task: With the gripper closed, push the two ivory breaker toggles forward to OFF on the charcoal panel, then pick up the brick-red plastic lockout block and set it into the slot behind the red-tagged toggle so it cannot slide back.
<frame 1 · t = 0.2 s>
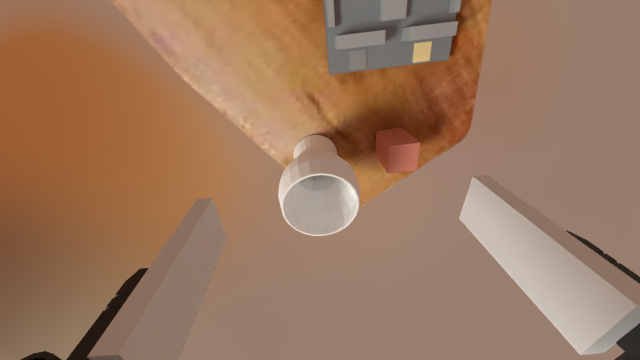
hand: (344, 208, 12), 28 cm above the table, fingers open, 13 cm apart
cup: (315, 155, 41), on the table
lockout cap: (388, 141, 40), on the table
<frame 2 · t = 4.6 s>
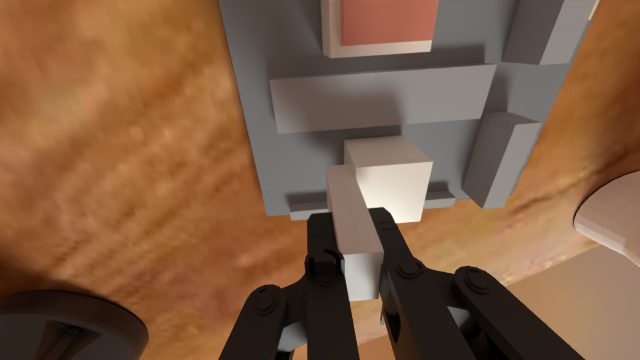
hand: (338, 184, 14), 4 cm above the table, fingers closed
cup: (613, 203, 22), on the table
breaker a: (380, 178, 14), point 4 cm above the table, slide at 1.1 cm, touching gripper
panel: (411, 89, 15), on the table
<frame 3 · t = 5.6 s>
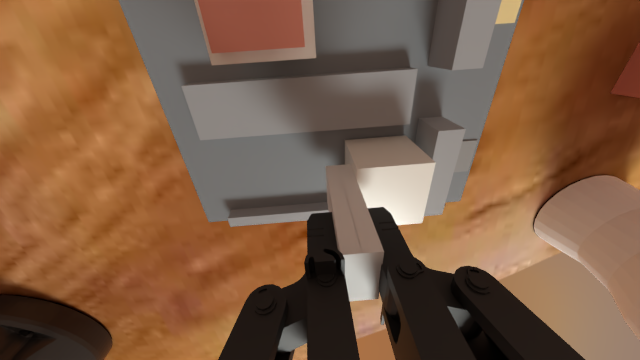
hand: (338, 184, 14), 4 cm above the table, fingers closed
cup: (574, 208, 22), on the table
breaker a: (381, 179, 14), point 4 cm above the table, slide at 5.7 cm, touching gripper
panel: (345, 94, 15), on the table
breaker b: (261, 2, 9), point 4 cm above the table, slide at 0.0 cm
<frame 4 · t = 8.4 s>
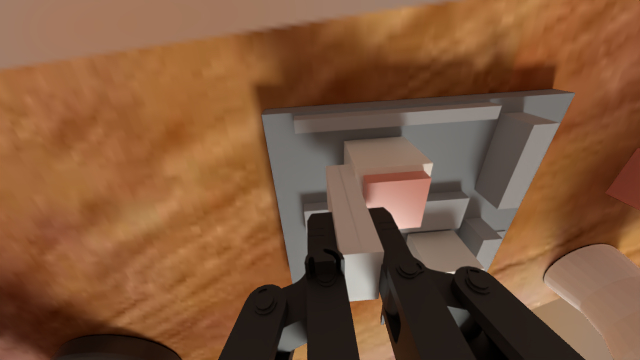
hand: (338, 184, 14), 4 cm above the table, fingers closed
cup: (576, 265, 27), on the table
breaker a: (437, 266, 19), point 4 cm above the table, slide at 5.7 cm
panel: (408, 198, 20), on the table
breaker b: (382, 183, 14), point 4 cm above the table, slide at 0.1 cm, touching gripper
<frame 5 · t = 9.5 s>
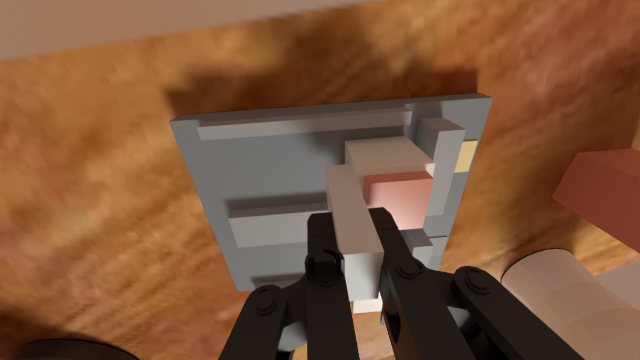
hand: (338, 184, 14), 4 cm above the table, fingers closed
cup: (534, 270, 26), on the table
breaker a: (373, 273, 19), point 4 cm above the table, slide at 5.7 cm
panel: (345, 204, 20), on the table
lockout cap: (588, 174, 20), on the table
breaker b: (383, 183, 14), point 4 cm above the table, slide at 5.7 cm, touching gripper
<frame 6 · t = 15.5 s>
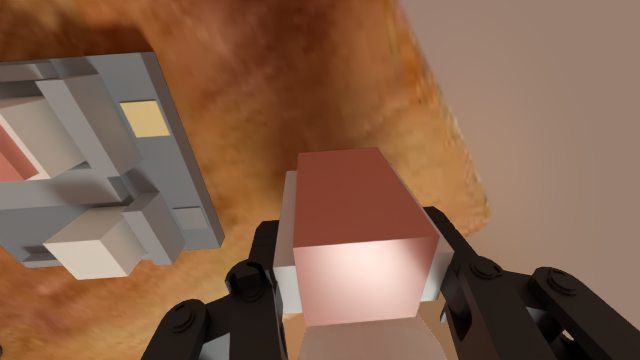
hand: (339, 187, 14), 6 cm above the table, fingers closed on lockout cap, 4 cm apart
cup: (348, 250, 26), on the table
breaker a: (108, 240, 19), point 4 cm above the table, slide at 5.7 cm
panel: (92, 172, 19), on the table
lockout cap: (338, 183, 14), point 6 cm above the table, touching gripper
breaker b: (21, 138, 14), point 4 cm above the table, slide at 5.7 cm
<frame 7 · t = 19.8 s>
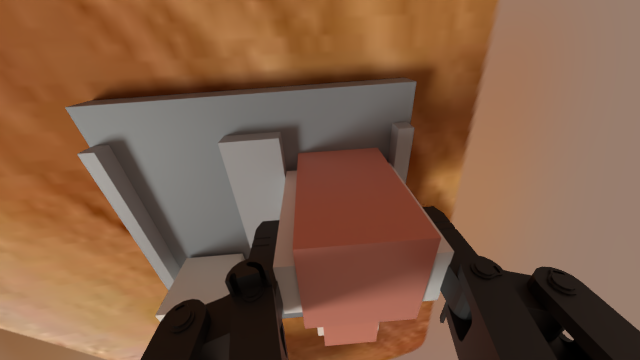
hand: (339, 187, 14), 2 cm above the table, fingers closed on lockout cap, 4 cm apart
breaker a: (213, 299, 16), point 4 cm above the table, slide at 5.7 cm
panel: (280, 236, 18), on the table
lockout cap: (338, 184, 14), point 2 cm above the table, touching gripper
breaker b: (344, 292, 15), point 4 cm above the table, slide at 5.7 cm
when the fingers open (2 cm above the table, at t = 21.2 s): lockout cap stays where it is, resting on panel.
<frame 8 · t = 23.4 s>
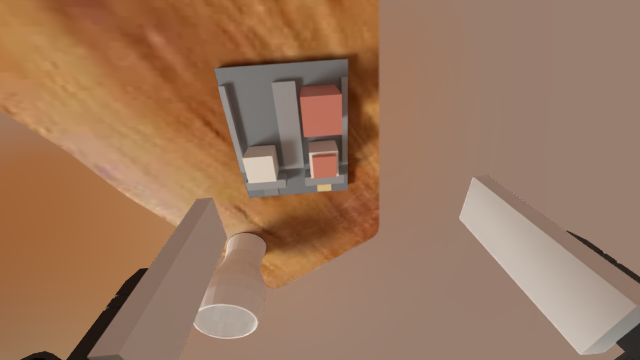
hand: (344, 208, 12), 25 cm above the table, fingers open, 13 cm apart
cup: (247, 245, 47), on the table
breaker a: (262, 163, 33), point 4 cm above the table, slide at 5.7 cm
panel: (292, 141, 36), on the table
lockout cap: (318, 102, 32), point 1 cm above the table, touching panel
breaker b: (323, 159, 33), point 4 cm above the table, slide at 5.7 cm
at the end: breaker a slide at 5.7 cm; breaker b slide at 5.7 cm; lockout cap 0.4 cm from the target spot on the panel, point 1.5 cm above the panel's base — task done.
